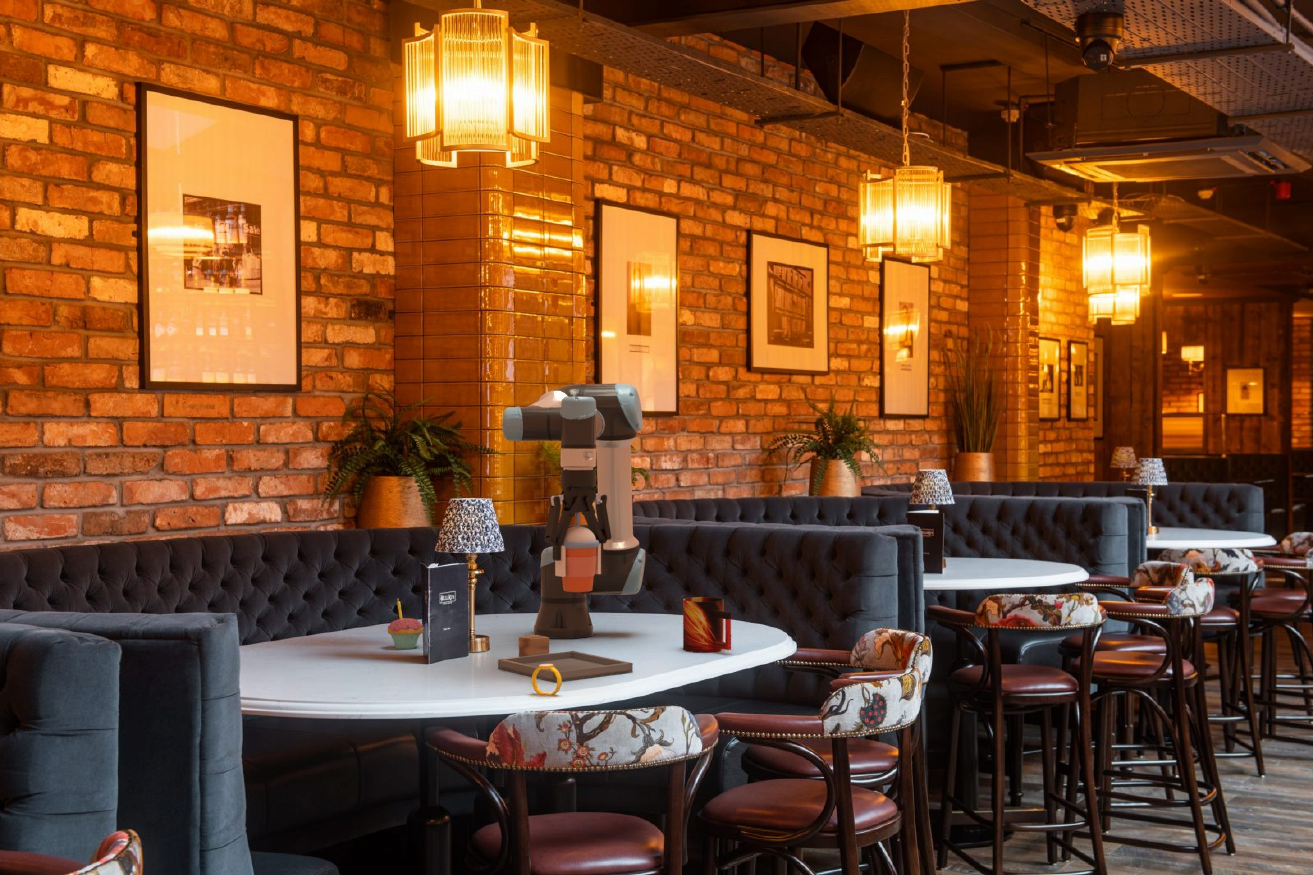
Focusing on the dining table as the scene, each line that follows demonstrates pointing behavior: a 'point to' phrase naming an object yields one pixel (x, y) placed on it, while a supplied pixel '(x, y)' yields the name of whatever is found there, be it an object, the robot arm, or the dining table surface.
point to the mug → (705, 625)
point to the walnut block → (533, 645)
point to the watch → (557, 674)
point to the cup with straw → (579, 558)
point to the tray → (566, 665)
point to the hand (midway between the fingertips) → (578, 574)
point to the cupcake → (405, 631)
